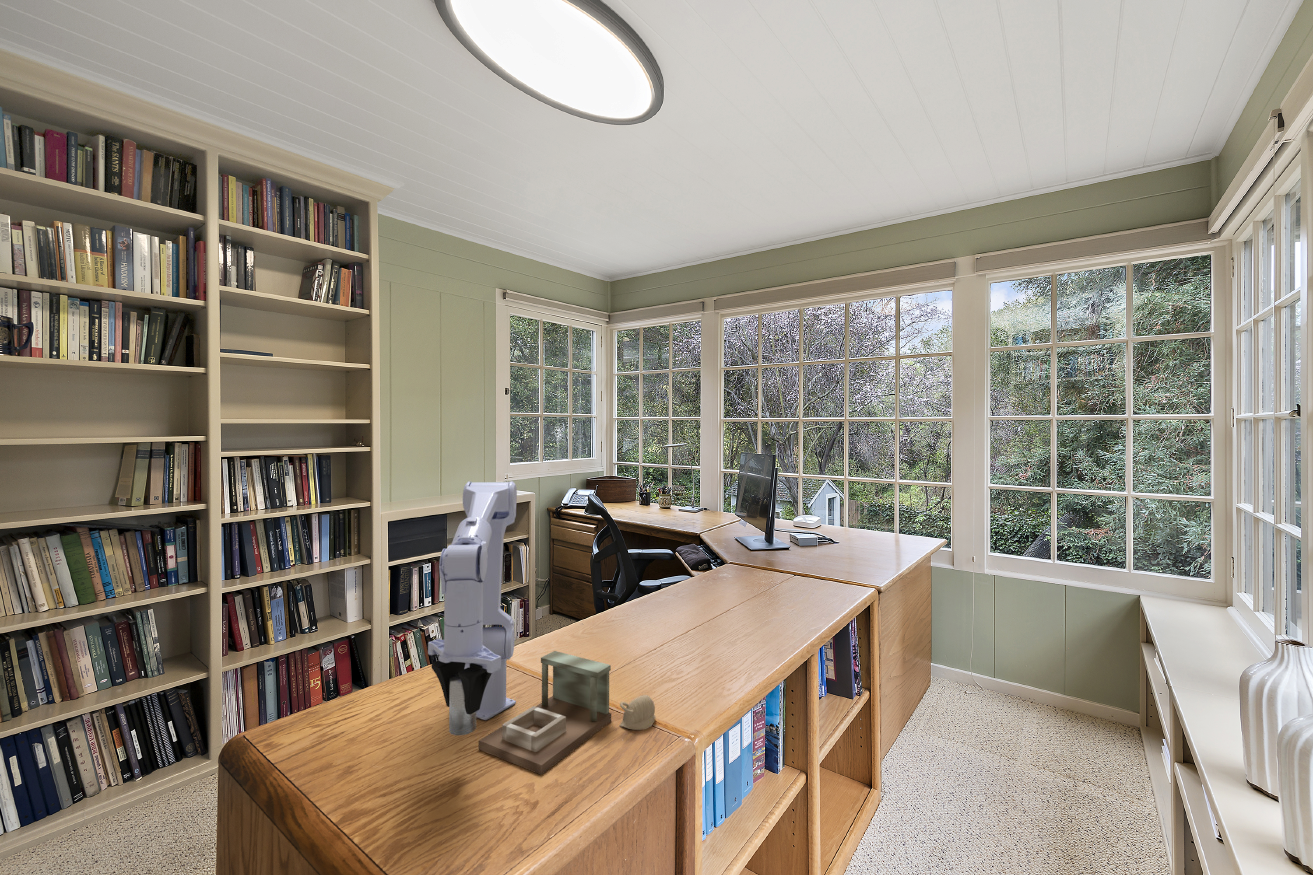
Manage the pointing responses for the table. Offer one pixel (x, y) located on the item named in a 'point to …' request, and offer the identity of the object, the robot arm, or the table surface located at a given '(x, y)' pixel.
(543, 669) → the socket stand
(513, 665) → the table surface
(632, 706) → the decorative ornament
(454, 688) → the steel peg
